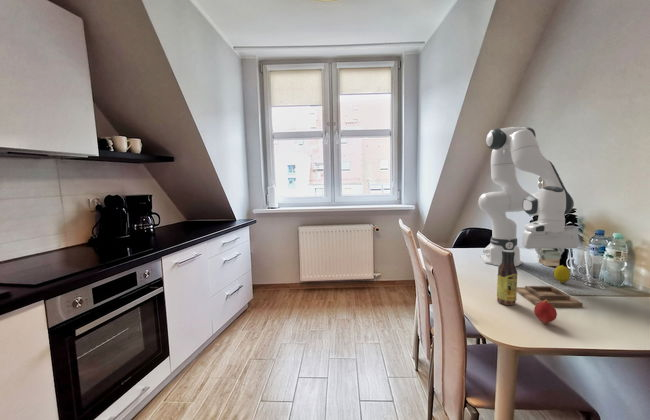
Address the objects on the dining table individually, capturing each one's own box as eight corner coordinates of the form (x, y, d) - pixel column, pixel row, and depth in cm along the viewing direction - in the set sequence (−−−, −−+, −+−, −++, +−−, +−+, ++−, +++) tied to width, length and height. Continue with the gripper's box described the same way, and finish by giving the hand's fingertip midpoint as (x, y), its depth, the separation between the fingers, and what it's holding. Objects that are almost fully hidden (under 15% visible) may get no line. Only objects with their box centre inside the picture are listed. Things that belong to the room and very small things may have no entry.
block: (538, 262, 124) (539, 248, 123) (551, 262, 123) (552, 248, 122) (545, 265, 119) (546, 251, 118) (559, 265, 118) (560, 251, 118)
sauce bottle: (509, 307, 104) (511, 254, 102) (493, 301, 110) (493, 250, 108) (520, 303, 107) (521, 251, 105) (503, 297, 113) (504, 248, 111)
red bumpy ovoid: (529, 319, 95) (529, 296, 94) (545, 318, 96) (546, 295, 95) (543, 328, 89) (544, 303, 89) (561, 327, 90) (562, 302, 89)
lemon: (572, 285, 122) (573, 267, 121) (558, 285, 123) (558, 266, 122) (564, 281, 127) (565, 263, 127) (550, 280, 129) (551, 263, 128)
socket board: (514, 290, 119) (515, 283, 119) (554, 291, 117) (554, 284, 117) (536, 306, 104) (536, 298, 104) (582, 307, 102) (582, 299, 102)
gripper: (573, 224, 121) (570, 256, 123) (520, 225, 123) (519, 256, 125) (584, 227, 115) (581, 260, 116) (528, 227, 117) (527, 260, 119)
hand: (548, 258), depth 121 cm, fingers closed on block, 5 cm apart
